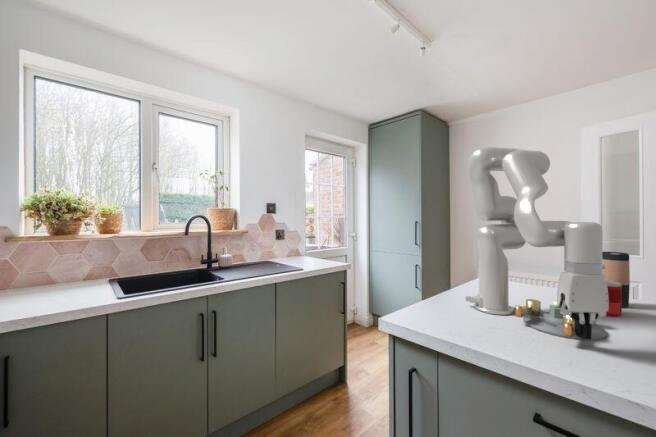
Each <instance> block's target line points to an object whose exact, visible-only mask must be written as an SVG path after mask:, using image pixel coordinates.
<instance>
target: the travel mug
mask: <svg viewBox="0 0 656 437" xmlns="http://www.w3.org/2000/svg"><path fill="white" fill-rule="evenodd" d="M602 264H604V265H605V266H606V268H605V269H602V274H603V275H604V276H605V279H606V281H613V282H618V283H621V284H622V309H628V308H629V307H630V288H631V284H630V283H631V281H630V280H631V278H630V276H631V275H630V272H631V271H630V253H627V252H620V251H619V252H618V251H602Z"/></svg>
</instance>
